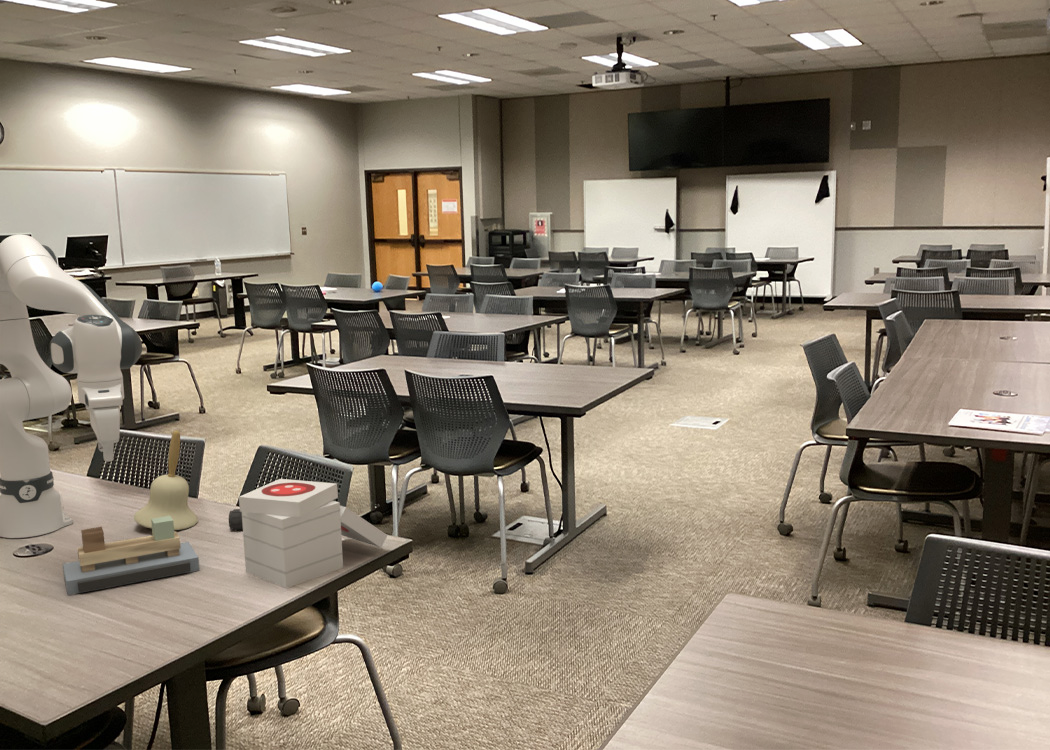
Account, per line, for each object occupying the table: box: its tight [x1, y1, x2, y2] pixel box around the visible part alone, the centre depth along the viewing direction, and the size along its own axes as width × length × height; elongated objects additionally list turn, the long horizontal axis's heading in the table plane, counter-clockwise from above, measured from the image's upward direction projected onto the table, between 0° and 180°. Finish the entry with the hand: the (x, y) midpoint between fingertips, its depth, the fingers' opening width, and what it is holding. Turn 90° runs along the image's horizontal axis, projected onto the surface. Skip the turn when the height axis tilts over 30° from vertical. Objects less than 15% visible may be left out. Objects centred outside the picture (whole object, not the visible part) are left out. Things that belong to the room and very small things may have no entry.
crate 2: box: [151, 516, 175, 541], centre depth 201 cm, size 4×4×4 cm
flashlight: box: [228, 508, 243, 531], centre depth 228 cm, size 15×5×5 cm, turn 95°
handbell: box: [133, 430, 199, 531], centre depth 231 cm, size 15×15×25 cm
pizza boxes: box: [238, 478, 388, 589], centre depth 202 cm, size 19×30×18 cm, turn 140°
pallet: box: [77, 531, 181, 572], centre depth 198 cm, size 5×20×4 cm, turn 120°
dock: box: [62, 541, 200, 596], centre depth 198 cm, size 13×26×3 cm, turn 120°
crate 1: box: [80, 526, 106, 553], centre depth 194 cm, size 4×4×4 cm
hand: (106, 455), depth 195 cm, fingers open, 8 cm apart
